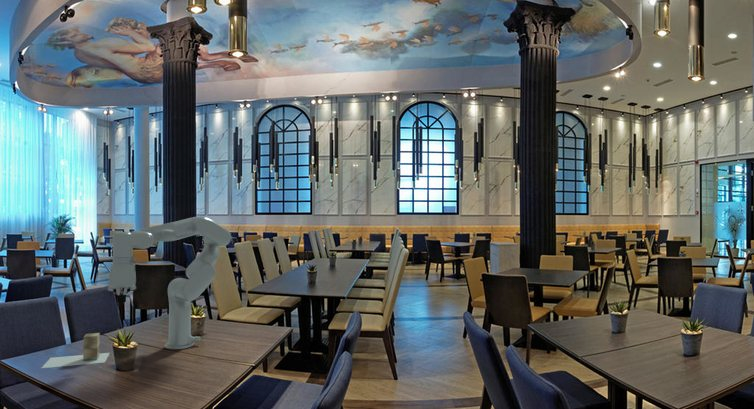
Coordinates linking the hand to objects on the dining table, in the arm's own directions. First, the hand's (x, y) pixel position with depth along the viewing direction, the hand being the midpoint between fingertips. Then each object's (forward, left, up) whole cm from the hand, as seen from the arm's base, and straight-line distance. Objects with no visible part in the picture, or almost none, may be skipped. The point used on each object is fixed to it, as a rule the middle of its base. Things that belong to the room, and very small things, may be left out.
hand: (121, 303), depth 205 cm
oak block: (+11, 0, -22) cm, 25 cm away
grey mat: (+16, 0, -23) cm, 28 cm away
